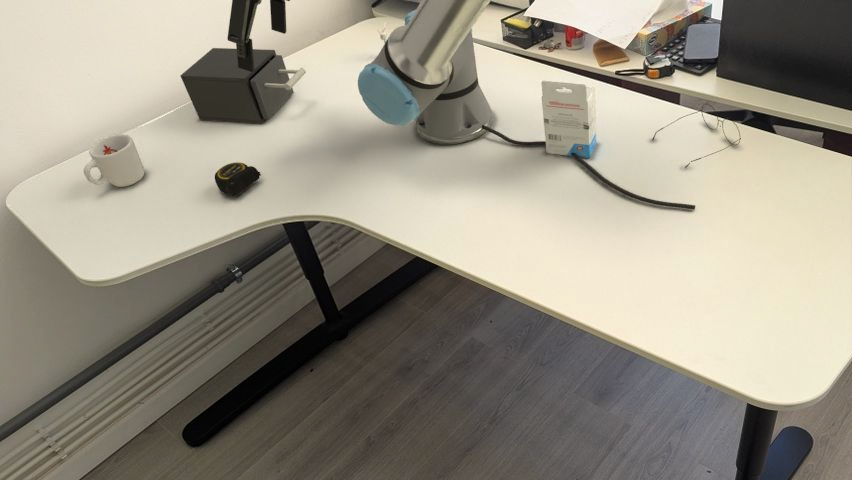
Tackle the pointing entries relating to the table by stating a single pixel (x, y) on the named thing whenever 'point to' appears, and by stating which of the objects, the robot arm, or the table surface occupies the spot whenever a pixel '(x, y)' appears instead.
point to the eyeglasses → (709, 127)
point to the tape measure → (235, 178)
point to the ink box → (569, 118)
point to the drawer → (273, 85)
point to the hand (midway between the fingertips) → (263, 49)
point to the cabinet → (224, 86)
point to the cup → (115, 161)
